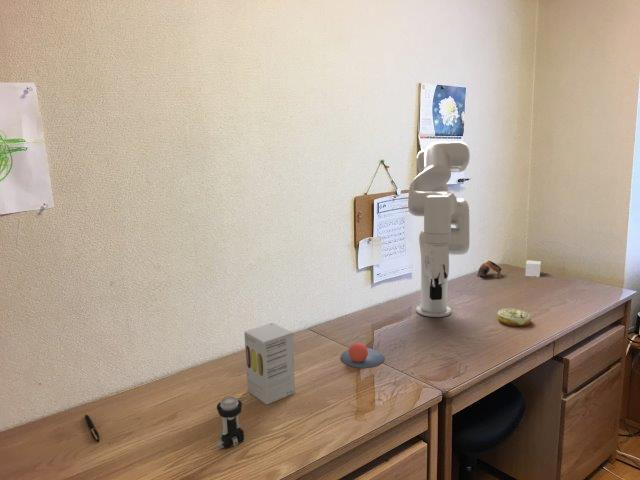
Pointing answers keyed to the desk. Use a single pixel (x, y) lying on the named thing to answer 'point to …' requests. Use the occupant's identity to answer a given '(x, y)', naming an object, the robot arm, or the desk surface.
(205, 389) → the desk surface
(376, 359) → the disc
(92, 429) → the fountain pen
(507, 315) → the decorated donut
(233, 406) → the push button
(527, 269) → the white cube
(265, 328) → the supplement box
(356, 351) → the ball
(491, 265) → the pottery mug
